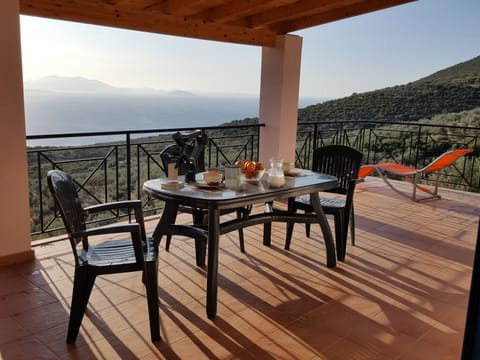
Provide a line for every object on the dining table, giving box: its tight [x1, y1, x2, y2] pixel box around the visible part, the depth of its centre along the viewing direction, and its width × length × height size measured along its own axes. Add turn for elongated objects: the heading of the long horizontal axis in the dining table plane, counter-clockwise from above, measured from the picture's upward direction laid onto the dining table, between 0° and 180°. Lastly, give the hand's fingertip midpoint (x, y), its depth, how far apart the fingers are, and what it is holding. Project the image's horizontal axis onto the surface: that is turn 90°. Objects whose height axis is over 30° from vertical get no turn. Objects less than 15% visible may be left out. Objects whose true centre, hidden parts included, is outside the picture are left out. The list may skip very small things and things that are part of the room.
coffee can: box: [224, 163, 242, 189], centre depth 289 cm, size 10×10×14 cm
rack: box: [160, 180, 185, 191], centre depth 283 cm, size 12×10×3 cm
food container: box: [207, 166, 225, 185], centre depth 301 cm, size 12×6×10 cm, turn 71°
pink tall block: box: [167, 162, 179, 181], centre depth 281 cm, size 5×4×10 cm
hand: (171, 168), depth 280 cm, fingers closed on pink tall block, 4 cm apart
